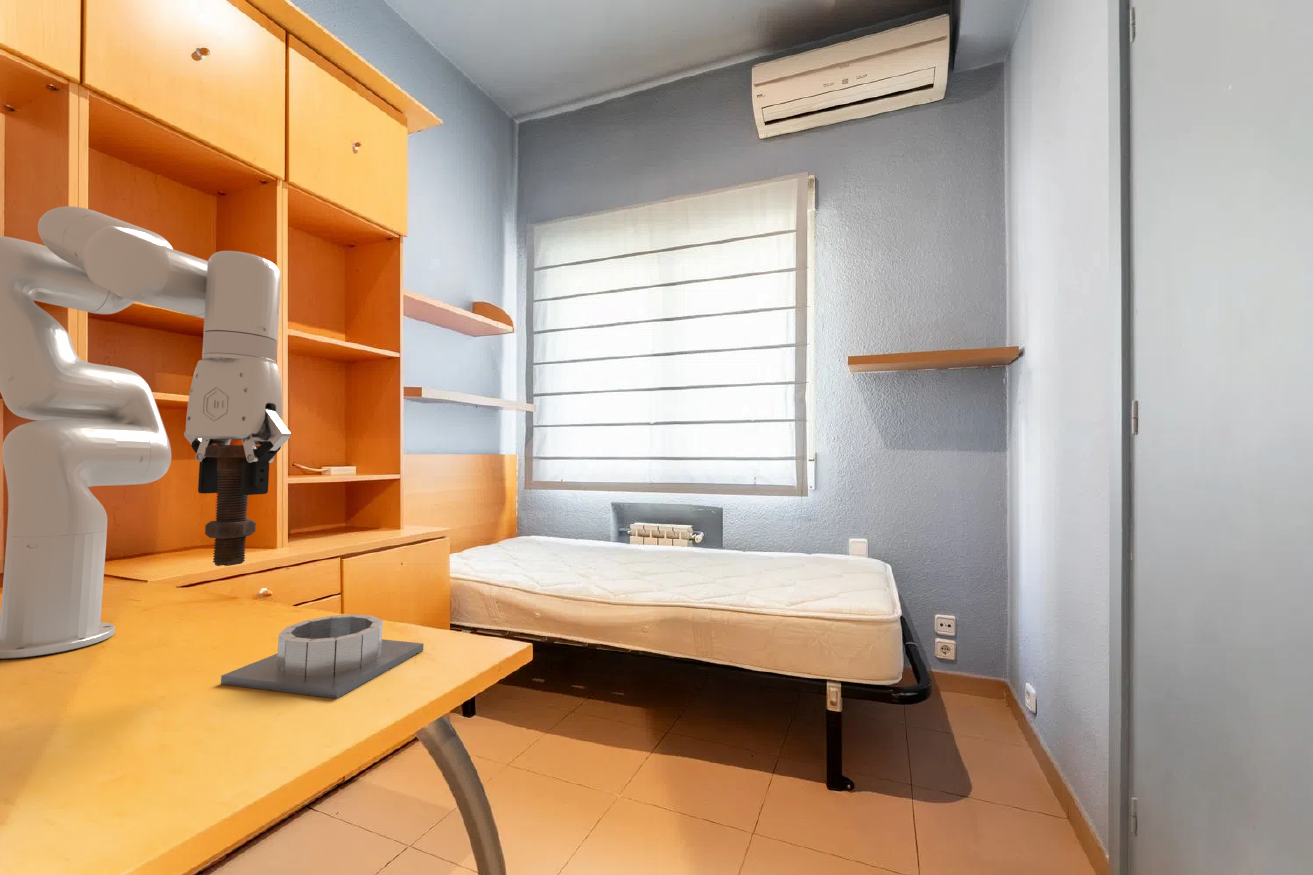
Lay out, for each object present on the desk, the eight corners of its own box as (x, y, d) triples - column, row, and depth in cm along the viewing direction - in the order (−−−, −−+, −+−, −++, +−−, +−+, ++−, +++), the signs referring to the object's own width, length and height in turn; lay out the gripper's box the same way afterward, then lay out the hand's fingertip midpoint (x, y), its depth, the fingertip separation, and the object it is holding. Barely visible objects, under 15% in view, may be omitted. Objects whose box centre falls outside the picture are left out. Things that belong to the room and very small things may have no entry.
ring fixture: (220, 683, 64) (223, 641, 64) (326, 640, 79) (328, 606, 80) (336, 698, 61) (339, 654, 61) (423, 650, 76) (424, 615, 77)
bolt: (191, 565, 66) (198, 444, 66) (237, 559, 70) (243, 445, 71) (220, 570, 64) (227, 444, 64) (265, 563, 68) (271, 446, 69)
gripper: (155, 347, 66) (146, 493, 65) (270, 343, 63) (262, 497, 62) (216, 359, 74) (208, 490, 73) (321, 356, 70) (315, 494, 69)
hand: (233, 492), depth 67 cm, fingers closed on bolt, 5 cm apart
